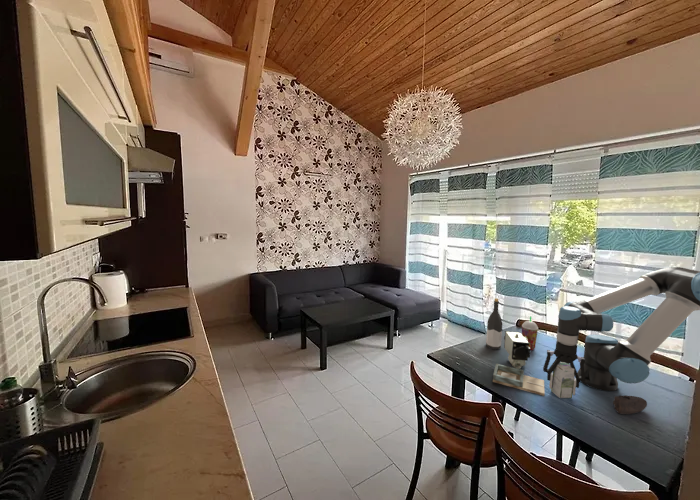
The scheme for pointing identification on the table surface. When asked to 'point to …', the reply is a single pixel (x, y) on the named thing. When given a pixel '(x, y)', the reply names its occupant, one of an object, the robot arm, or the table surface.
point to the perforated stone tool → (629, 404)
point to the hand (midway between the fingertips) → (561, 390)
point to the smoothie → (530, 332)
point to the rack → (517, 379)
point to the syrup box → (563, 380)
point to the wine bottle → (494, 328)
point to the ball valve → (516, 348)
